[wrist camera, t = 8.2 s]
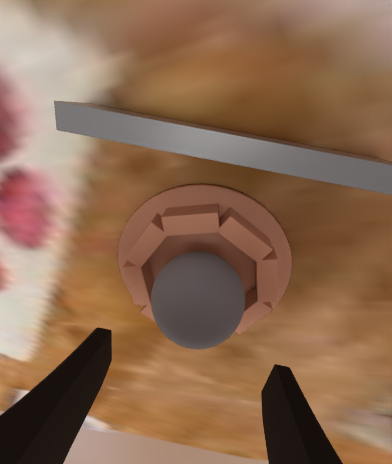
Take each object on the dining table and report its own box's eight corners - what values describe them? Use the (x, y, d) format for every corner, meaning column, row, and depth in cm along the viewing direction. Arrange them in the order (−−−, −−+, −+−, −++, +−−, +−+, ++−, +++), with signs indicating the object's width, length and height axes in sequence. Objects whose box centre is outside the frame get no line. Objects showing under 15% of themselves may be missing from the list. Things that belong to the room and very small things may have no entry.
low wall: (378, 158, 13) (418, 170, 10) (367, 180, 13) (403, 197, 11) (88, 103, 13) (54, 100, 11) (89, 126, 14) (56, 129, 11)
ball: (258, 267, 16) (274, 334, 11) (208, 312, 18) (202, 385, 13) (193, 219, 15) (179, 270, 10) (148, 273, 17) (118, 337, 12)
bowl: (329, 260, 16) (342, 279, 14) (213, 348, 21) (212, 370, 19) (184, 140, 14) (178, 145, 12) (92, 271, 18) (78, 288, 17)
